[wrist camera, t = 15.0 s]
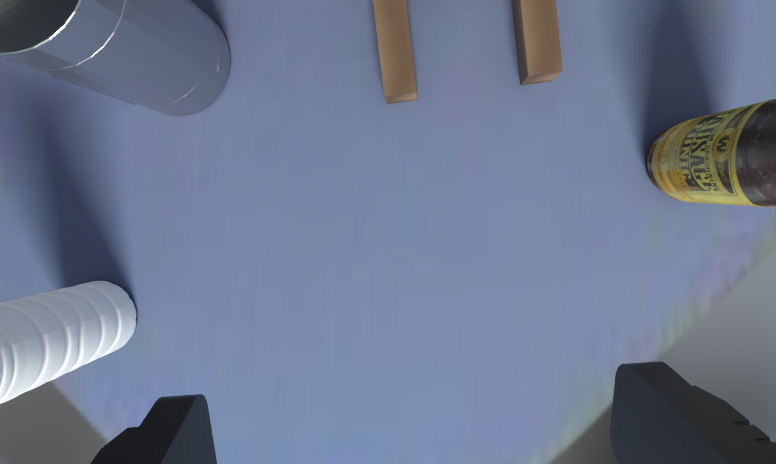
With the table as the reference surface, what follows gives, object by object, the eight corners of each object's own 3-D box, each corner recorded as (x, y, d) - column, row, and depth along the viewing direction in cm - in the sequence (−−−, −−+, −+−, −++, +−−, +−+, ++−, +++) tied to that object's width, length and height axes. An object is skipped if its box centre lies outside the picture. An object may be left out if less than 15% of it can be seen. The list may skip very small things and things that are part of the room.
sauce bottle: (651, 117, 38) (888, 25, 19) (732, 131, 38) (1062, 53, 18) (632, 198, 39) (843, 191, 19) (711, 213, 38) (1011, 223, 19)
